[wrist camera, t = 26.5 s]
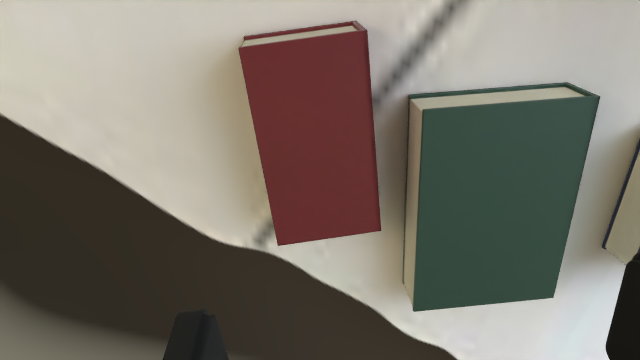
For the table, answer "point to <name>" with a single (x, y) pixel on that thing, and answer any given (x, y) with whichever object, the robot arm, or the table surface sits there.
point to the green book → (492, 191)
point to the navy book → (626, 216)
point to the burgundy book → (314, 129)
